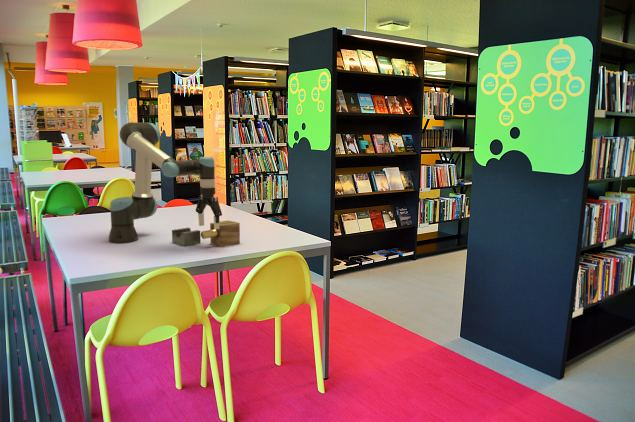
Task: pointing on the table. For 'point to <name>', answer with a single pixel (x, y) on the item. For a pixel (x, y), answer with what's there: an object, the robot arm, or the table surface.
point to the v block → (186, 237)
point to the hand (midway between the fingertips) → (209, 227)
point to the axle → (210, 233)
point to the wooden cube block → (226, 234)
